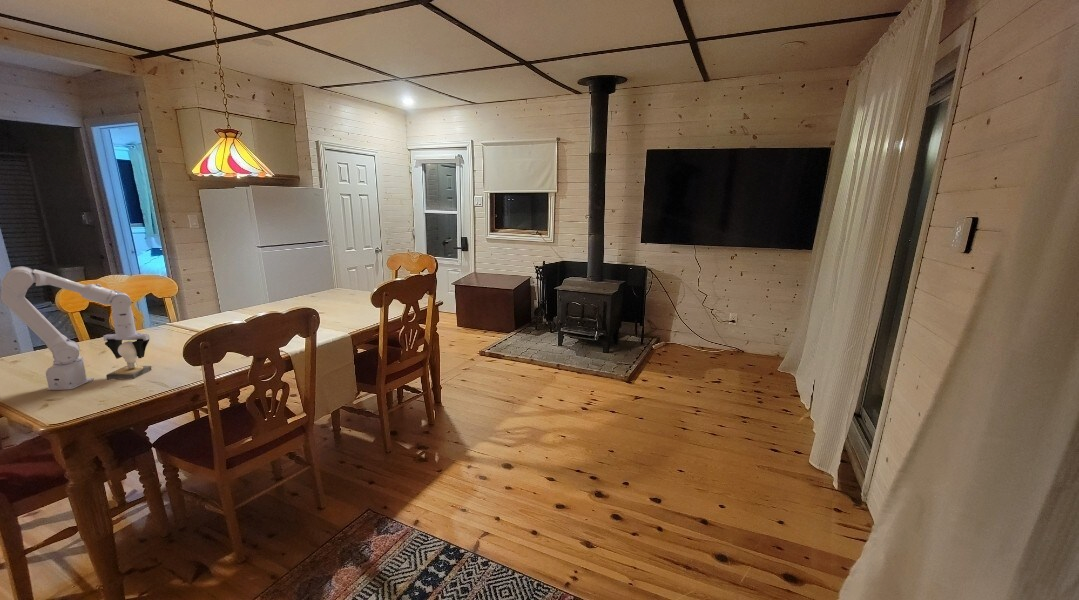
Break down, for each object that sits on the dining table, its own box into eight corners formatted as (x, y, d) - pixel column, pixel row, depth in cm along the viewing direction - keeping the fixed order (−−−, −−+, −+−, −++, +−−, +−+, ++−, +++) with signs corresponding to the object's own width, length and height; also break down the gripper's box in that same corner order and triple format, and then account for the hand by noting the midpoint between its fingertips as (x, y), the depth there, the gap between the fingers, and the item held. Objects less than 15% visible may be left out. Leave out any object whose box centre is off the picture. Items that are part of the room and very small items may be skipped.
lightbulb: (142, 364, 170) (137, 338, 168) (144, 368, 166) (140, 341, 164) (120, 368, 166) (115, 341, 163) (122, 372, 161) (117, 345, 159)
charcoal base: (133, 378, 162) (132, 373, 161) (107, 379, 160) (106, 374, 160) (151, 370, 170) (150, 365, 170) (126, 370, 169) (125, 365, 169)
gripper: (153, 321, 167) (158, 353, 170) (111, 321, 165) (118, 354, 168) (139, 326, 161) (145, 360, 163) (96, 326, 159) (102, 360, 161)
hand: (130, 357), depth 165 cm, fingers open, 7 cm apart
